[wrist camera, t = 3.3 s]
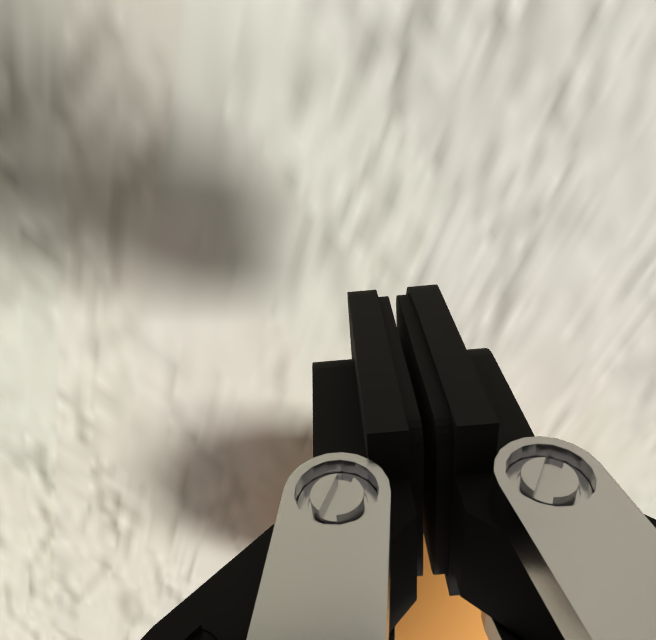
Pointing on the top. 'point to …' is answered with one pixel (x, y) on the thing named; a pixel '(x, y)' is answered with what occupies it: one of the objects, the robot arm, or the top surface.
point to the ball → (439, 612)
